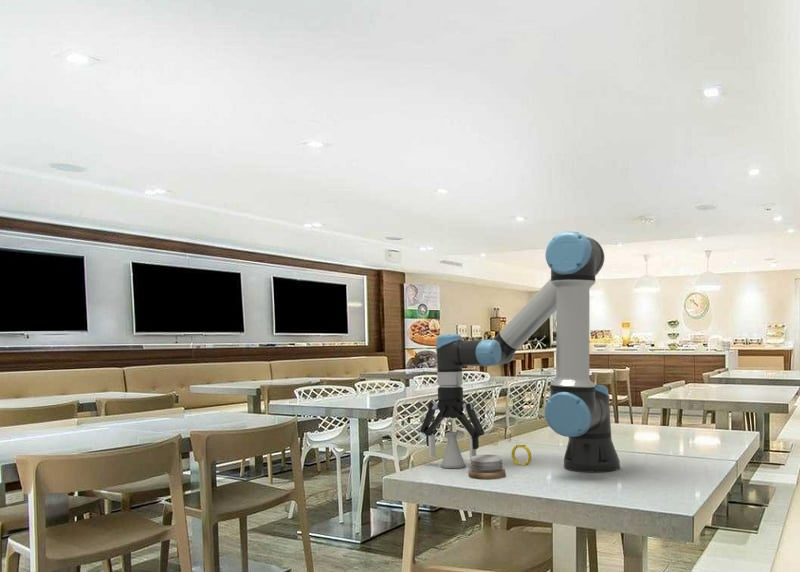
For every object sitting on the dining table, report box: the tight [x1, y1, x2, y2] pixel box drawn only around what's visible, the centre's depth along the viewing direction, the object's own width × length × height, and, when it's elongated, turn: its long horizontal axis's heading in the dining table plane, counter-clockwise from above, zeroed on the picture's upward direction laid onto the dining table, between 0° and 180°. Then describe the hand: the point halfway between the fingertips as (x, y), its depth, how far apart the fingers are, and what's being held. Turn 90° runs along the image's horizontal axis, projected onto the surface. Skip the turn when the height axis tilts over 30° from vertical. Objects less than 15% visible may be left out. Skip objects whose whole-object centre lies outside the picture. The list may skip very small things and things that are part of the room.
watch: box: [511, 443, 532, 466], centre depth 191 cm, size 6×3×6 cm, turn 50°
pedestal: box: [467, 454, 507, 480], centre depth 175 cm, size 10×10×5 cm
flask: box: [441, 431, 466, 469], centre depth 191 cm, size 7×7×10 cm
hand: (452, 459), depth 191 cm, fingers open, 13 cm apart
